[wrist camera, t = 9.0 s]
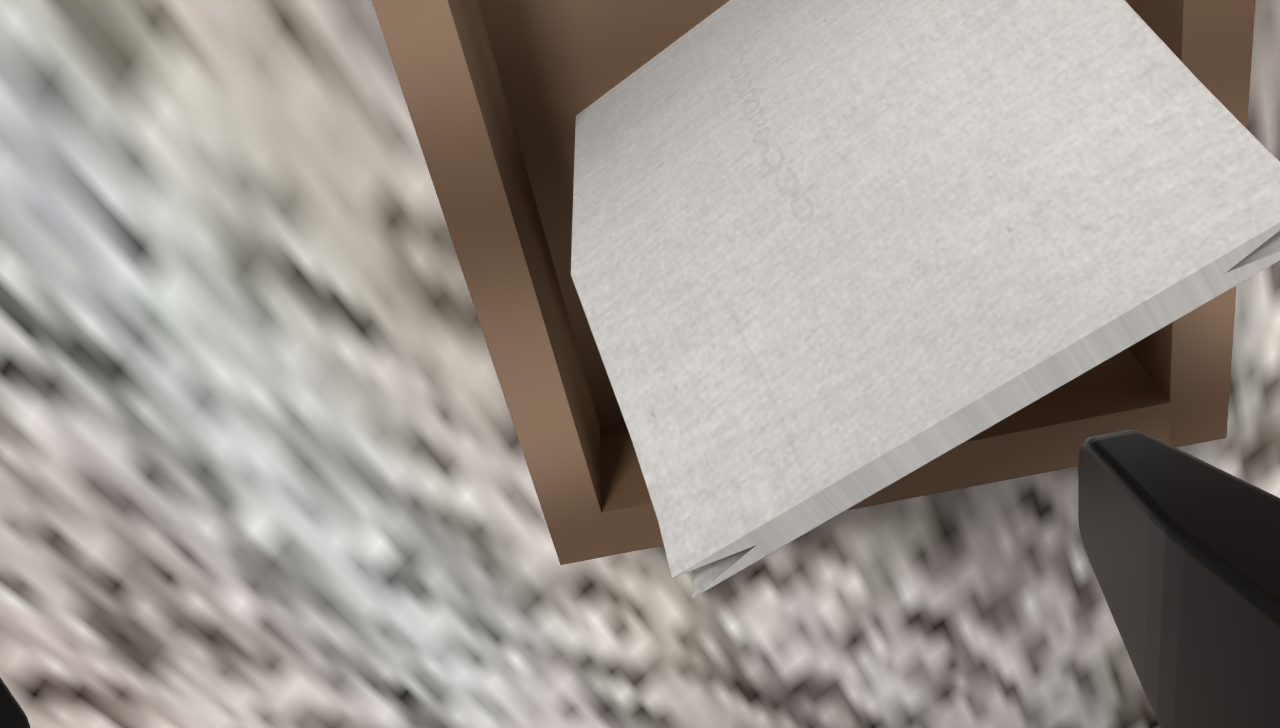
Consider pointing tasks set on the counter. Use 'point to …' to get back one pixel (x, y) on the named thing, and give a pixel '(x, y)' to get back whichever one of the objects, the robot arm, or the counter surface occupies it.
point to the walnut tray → (551, 308)
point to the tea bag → (887, 240)
